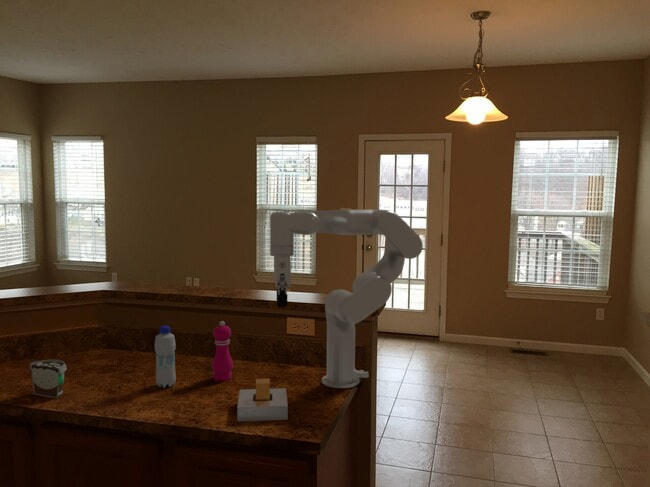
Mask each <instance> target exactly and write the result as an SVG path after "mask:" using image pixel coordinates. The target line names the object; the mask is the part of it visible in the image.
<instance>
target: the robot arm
mask: <svg viewBox="0 0 650 487" xmlns="http://www.w3.org/2000/svg"><path fill="white" fill-rule="evenodd" d="M315 233H318V234H319V233H321V234H333V235H338V236H339V235H340V236H363V235H365V236H367V235H370V236H371V235H372V236H373V235H379V236H384V237H385V240H384V250H383V255H382V257H381V259H380V260H378V261H377V262H376V263H375V264H374V265H372V266H371V267H369V268H368V269H366V270H365V271H363V273H361V274H359V275H358V276H357V277H356V278H355V279H354V280H353V282H352V292H350V291H348V290H345V289H335V290H332V291H330V292H329V294H328V295H327V297H326V299H325V302H324V306H325V307H324V309H325V318H326V319H325V320H326V375H324V376H322V377H321V383H322V384H323V385H324V386H325V387H327V388H328V387H329V388H334V389H351V388H354V387H356V386H358V385H359V383H360V378H363V379H364V378H365V379H366V378H369V377H370V375H369V371H364V370H363V369H362V370H361V369H360V370H357V369H356V366H355V365H356V364H355V363H356V324H358V323H361V322H362V321H363V320H364V319H366V318H368V317H369V316H370V315H372V314H373V313H374V312H376V311H377V310H378V309H380V308H381V307H382V306H384V305H385V304H386V303H387V302H388V301H389V299H390V297H391V295H392V289H393V288H392V283H393V282H395V281H396V280H397V279H398V278H399V277H400V275H401V274H402V272H403V269H404V266H405V260H407V259H408V260H411V259H415V258H417V257H419V256H420V254H421V253H422V251H423V248H424V247H423V241H422V239H421V237H420V236H419V234H418V233H417V232H416V231H415V230H414V229H413V228H412V227H411V226H410V225H409V224H408V223H407V222H406V221H405V220H404V219H403V218H402V217H401V216H399V215H398V214H397V213H396V212H394V211H393V210H390V209H379V208H378V209H376V208H375V209H368V208H367V209H333V210H332V209H331V210H297V211H294V212H289V211H276V212H275V211H274V212H272V213H271V214H270V216H269V255H270V256H271V257H273V275H274V283H275V287H276V307H277V308H287V307H288V289H287V286H288V288H291V287H292V261H291V257H293V256H295V255H294V252H295V250H294V249H295V241H294V238H295V234H296V235H303V236H310V235H314V234H315Z"/></svg>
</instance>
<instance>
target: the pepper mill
mask: <svg viewBox="0 0 650 487" xmlns="http://www.w3.org/2000/svg"><path fill="white" fill-rule="evenodd" d="M212 334H213V337H214V338H215V340H214V344H215V346H216V347H215V349H216V350H215V354H214V357H213V360H212V363H211V369H212V370H213V373H212V374H213V376H212V378H213V380H215V381H218V382H220V381H221V382H222V381H223V382H224V381H228V380H231V379H232V377H233V375H232V374H233V373H232V370H233V368H234V362H233V358H232V357H231V354H230V351H229V345H230V343H231V342H230V337H231V336H232V330H231V328H230V327H229V326H228V325H226V322H225V321H223V320H221V321H219V325H218V326H216V327H215V328H214V329H213V333H212Z"/></svg>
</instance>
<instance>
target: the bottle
mask: <svg viewBox="0 0 650 487" xmlns="http://www.w3.org/2000/svg"><path fill="white" fill-rule="evenodd" d="M175 350H176V339H175V335H174V334H173V333H171V327H170V326H168V325H162V326H160V328H159V334H157V335H156V336H155V339H154V352H155V366H156V367H155V369H156V370H155V382H156V385H157V386H158V387H159V388H163V389H164V388H165V389H166V387H167V385H168V387H169V388H171V387H172V386H174V385H175V384H176V377H177V375H176V358H175V357H176V355H175V354H176V353H175Z"/></svg>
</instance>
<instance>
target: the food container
mask: <svg viewBox="0 0 650 487" xmlns="http://www.w3.org/2000/svg"><path fill="white" fill-rule="evenodd" d="M29 370H31V378H32V388H33V395H34V396H35V395H36V396H41V397H46V398H54V399H60V398H61V397H62V396H63V395H64V385H65V383H64V382H65V372H66V371H67V365H66V363H65V361H64V360H62V359H61V360H60V359H44V360H38V361H32V362H30V365H29Z"/></svg>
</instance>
